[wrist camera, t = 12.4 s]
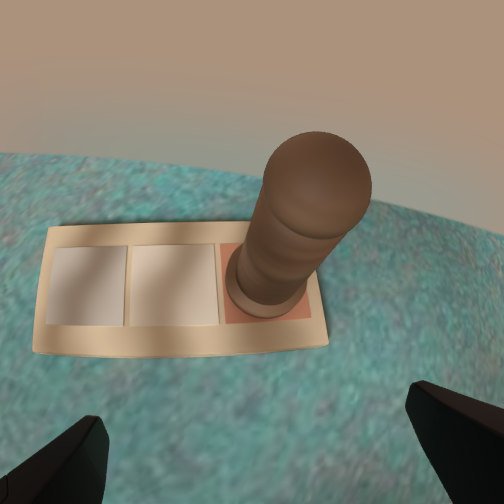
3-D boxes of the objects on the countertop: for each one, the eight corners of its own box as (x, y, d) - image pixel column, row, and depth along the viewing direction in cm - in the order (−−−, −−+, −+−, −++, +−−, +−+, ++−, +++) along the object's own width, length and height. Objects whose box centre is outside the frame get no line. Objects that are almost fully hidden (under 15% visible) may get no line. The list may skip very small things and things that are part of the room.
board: (302, 227, 27) (305, 220, 26) (323, 346, 23) (329, 343, 22) (53, 233, 23) (48, 226, 22) (38, 353, 19) (31, 350, 18)
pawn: (316, 293, 23) (425, 182, 11) (253, 334, 21) (332, 240, 9) (273, 233, 25) (337, 93, 13) (209, 266, 23) (232, 119, 11)
